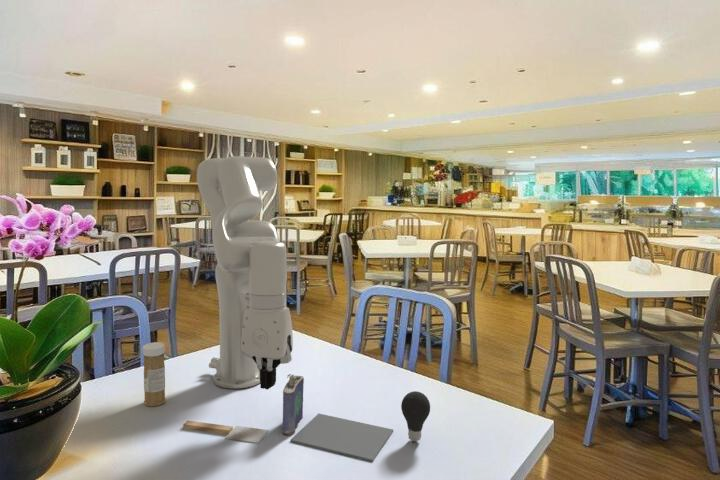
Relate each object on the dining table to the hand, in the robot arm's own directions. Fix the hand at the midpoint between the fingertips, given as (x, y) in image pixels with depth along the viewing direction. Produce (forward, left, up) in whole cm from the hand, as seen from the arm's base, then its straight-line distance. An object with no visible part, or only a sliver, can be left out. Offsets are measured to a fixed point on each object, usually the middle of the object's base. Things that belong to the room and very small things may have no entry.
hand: (267, 386), depth 102 cm
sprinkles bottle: (-27, -4, -7) cm, 28 cm away
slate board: (+17, 0, -7) cm, 19 cm away
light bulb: (+31, +4, -7) cm, 32 cm away
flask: (+6, 0, -8) cm, 10 cm away
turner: (-4, -8, -7) cm, 12 cm away
